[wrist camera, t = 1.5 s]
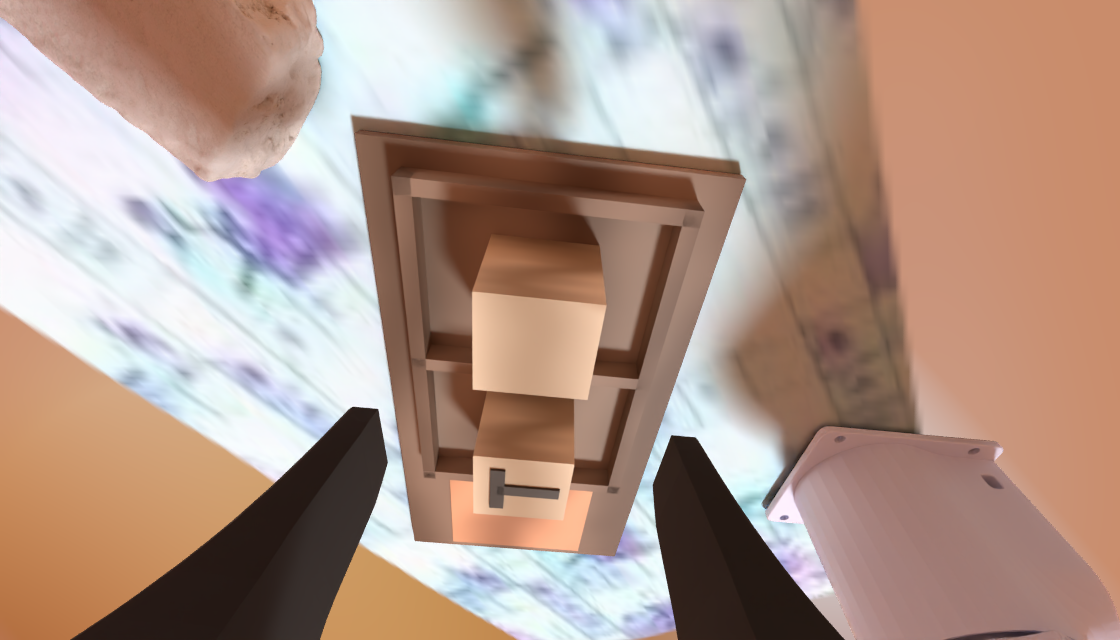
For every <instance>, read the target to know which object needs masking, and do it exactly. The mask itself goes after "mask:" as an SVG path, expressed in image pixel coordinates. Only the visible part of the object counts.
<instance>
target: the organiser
mask: <svg viewBox="0 0 1120 640" xmlns="http://www.w3.org/2000/svg"><path fill="white" fill-rule="evenodd" d="M355 141H356V148H357V155H358V161H359V168H360V175H361V182H362V188H363V195H364V202H365V209H366V215H367V222H368V229H369V236H370V242H371V249H372V256H373V263H374V269H375V276H376V283H377V290H378V296H379V303H380V310H381V317H382V323H383V330H384V337H385V344H386V350H387V357H388V364H389V370H390V377H391V384H392V391H393V397H394V404H395V411H396V418H397V424H398V431H399V438H400V445H401V451H402V458H403V465H404V472H405V478H406V485H407V492H408V499H409V505H410V512H411V519H412V526H413V532H414V539H415V541H422V542H435V543H448V544H461V545H474V546H487V547H500V548H513V549H526V550H539V551H552V552H565V553H578V554H591V555H604V556H615V553H616V551H617V548H618V545H619V542H620V539H621V536H622V533H623V531H624V528H625V525H626V522H627V519H628V516H629V513H630V511H631V508H632V505H633V502H634V499H635V496H636V493H637V491H638V488H639V485H640V482H641V479H642V476H643V473H644V470H645V468H646V465H647V462H648V459H649V456H650V453H651V450H652V448H653V445H654V442H655V439H656V436H657V433H658V430H659V428H660V425H661V422H662V419H663V416H664V413H665V410H666V408H667V405H668V402H669V399H670V396H671V393H672V390H673V387H674V385H675V382H676V379H677V376H678V373H679V370H680V367H681V365H682V362H683V359H684V356H685V353H686V350H687V347H688V345H689V342H690V339H691V336H692V333H693V330H694V327H695V325H696V322H697V319H698V316H699V313H700V310H701V307H702V304H703V302H704V299H705V296H706V293H707V290H708V287H709V284H710V282H711V279H712V276H713V273H714V270H715V267H716V264H717V262H718V259H719V256H720V253H721V250H722V247H723V244H724V242H725V239H726V236H727V233H728V230H729V227H730V224H731V221H732V219H733V216H734V213H735V210H736V207H737V204H738V201H739V199H740V196H741V193H742V190H743V187H744V184H745V181H746V179H745V178H744V177H743V176H742V175H740V174H731V173H723V172H714V171H706V170H697V169H689V168H680V167H672V166H663V165H655V164H646V163H638V162H629V161H620V160H612V159H603V158H595V157H586V156H578V155H569V154H561V153H552V152H544V151H535V150H527V149H518V148H510V147H501V146H492V145H484V144H475V143H467V142H458V141H450V140H441V139H433V138H424V137H416V136H407V135H399V134H390V133H382V132H373V131H364V130H359V131H358V132H356V133H355ZM492 234H496V235H506V236H515V237H524V238H533V239H543V240H552V241H561V242H570V243H580V244H589V245H598V246H600V252H601V261H602V269H603V278H604V287H605V295H606V304H607V306H606V311H605V316H604V321H603V326H602V331H601V336H600V341H599V346H598V351H597V356H596V360H595V365H594V370H593V375H592V380H591V385H590V390H589V395H588V400H581V399H574V469H573V474H572V479H571V484H570V489H569V494H568V499H567V504H566V509H565V514H564V519H563V520H551V519H538V518H526V517H513V516H501V515H488V514H476V513H473V454H474V449H475V444H476V440H477V435H478V431H479V426H480V421H481V417H482V412H483V407H484V403H485V398H486V394H487V391H483V390H473V359H472V290H473V287H474V284H475V282H476V279H477V276H478V273H479V270H480V267H481V264H482V261H483V258H484V255H485V252H486V249H487V246H488V243H489V240H490V238H491V235H492Z"/></svg>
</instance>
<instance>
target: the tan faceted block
mask: <svg viewBox="0 0 1120 640" xmlns="http://www.w3.org/2000/svg"><path fill="white" fill-rule="evenodd" d="M0 17H1V18H3V19H5V20H6V21H7V22H8V23H10V24H11V25H12V26H13V27H15V28H16V29H17V30H18V31H19V32H20V33H21V34H22V35H24V36H25V37H26V38H27V39H28V40H29V41H30V42H31V43H32V44H33V45H34V46H35V47H36V48H37V49H38V50H39V51H40V52H41V53H43V54H44V55H45V56H46V57H47V58H49V59H50V60H51V61H52V62H54V63H55V64H56V65H57V66H58V67H60V68H61V69H62V70H64V71H65V72H66V73H67V74H68V75H70V76H71V77H72V78H73V79H74V80H75V81H76V82H77V83H79V84H80V85H81V86H83V87H84V88H85V89H86V90H88V91H89V92H90V93H91V94H92V95H93V96H94V97H95V98H96V99H98V100H99V101H100V102H102V103H104V104H105V105H107V106H109V107H112V108H113V109H115V110H116V111H118V112H119V114H120V115H121V116H122V117H123V118H124V119H125V120H127V121H128V122H129V123H131V124H132V125H134V126H135V127H138V128H139V129H141V130H143V131H144V132H146V133H147V134H148V135H149V136H150V137H151V138H152V139H153V140H154V141H156V142H157V143H158V144H159V145H161V146H163V147H164V148H165V149H166V150H168V151H169V152H170V153H171V154H172V155H174V156H175V157H176V158H177V159H179V160H180V161H182V162H183V163H184V164H185V165H187V166H188V167H189V168H190V169H191V170H192V171H193V172H194V173H195V174H196V175H197V176H198V177H199V178H201V179H202V180H205V181H207V182H212V181H215V180H219V179H222V178H233V177H243V178H256V177H257V176H259V175H260V172H261V171H262V170H264V169H267V168H269V167H272V166H274V165H275V164H277V163H278V162H279V161H280V160H281V159H282V158H283V157H284V155H285V154H286V153H287V151H288V150H289V148H290V147H291V146H292V144H293V143H294V141H295V139H296V137H297V136H298V133H299V131H300V129H301V128H302V126H303V123H304V122H305V120H306V118H307V116H308V114H309V112H310V110H311V109H312V107H313V105H314V103H315V100H316V97H317V95H318V93H319V90H320V85H321V66H320V64H319V62H318V58H319V57H320V56H322V53H323V50H324V46H323V40H322V38H321V36H320V34H319V32H318V30H317V27H316V23H317V19H316V9H315V7H314V5H313V2H312V0H0Z"/></svg>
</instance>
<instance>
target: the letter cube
mask: <svg viewBox="0 0 1120 640" xmlns="http://www.w3.org/2000/svg"><path fill="white" fill-rule="evenodd" d="M573 469H574V399H570V398H559V397H548V396H538V395H527V394H516V393H505V392H494V391H487V394H486V398H485V403H484V407H483V412H482V417H481V421H480V426H479V431H478V435H477V440H476V444H475V449H474V454H473V513H476V514H488V515H501V516H513V517H526V518H538V519H551V520H563V519H564V514H565V509H566V504H567V499H568V494H569V489H570V484H571V479H572V474H573Z"/></svg>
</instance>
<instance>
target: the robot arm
mask: <svg viewBox="0 0 1120 640" xmlns="http://www.w3.org/2000/svg"><path fill="white" fill-rule="evenodd" d="M1002 452H1003V448H1002V447H1001V446H1000V445H999V444H998V443H997V442H995V441H986V440H974V439H964V438H953V437H943V436H932V435H921V434H910V433H899V432H888V431H877V430H866V429H856V428H845V427H834V426H826V427H823V428H821V429H820V430H819V431H818V432H817V433H816V435H815V436H814V438H813V439H812V441H811V442H810V444H809V446H808V447H807V449H806V450H805V452H804V453H803V455H802V456H801V458H800V459H799V461H798V462H797V464H796V465H795V467H794V468H793V470H792V471H791V473H790V474H789V476H788V478H787V479H786V481H785V482H784V484H783V485H782V487H781V488H780V490H779V491H778V493H777V494H776V496H775V497H774V499H773V500H772V502H771V503H770V505H769V507H768V508H767V510H766V511H765V514H766V516H767V519H768V520H770V521H776V522H788V523H800V524H804V525H805V527H806V529H807V531H808V534H809V536H810V538H811V540H812V543H813V545H814V547H815V549H816V552H817V554H818V556H819V558H820V561H821V563H822V565H823V567H824V570H825V572H826V574H827V576H828V579H829V581H830V583H831V585H832V588H833V590H834V592H835V594H836V596H837V599H838V601H839V603H840V606H841V608H842V610H843V612H844V615H845V617H846V619H847V621H848V624H849V626H850V628H851V630H852V633H853V635H854V637H855V639H856V640H1120V621H1119V618H1118V614H1117V611H1116V609H1115V606H1114V604H1113V601H1112V599H1111V597H1110V595H1109V593H1108V591H1107V589H1106V588H1105V586H1104V585H1103V583H1102V582H1101V580H1100V579H1099V577H1098V576H1097V575H1096V573H1095V572H1094V571H1093V570H1092V568H1091V567H1090V566H1089V565H1088V564H1087V563H1086V562H1085V560H1083V558H1082V557H1081V556H1080V555H1079V554H1078V553H1077V552H1076V551H1075V550H1074V549H1073V547H1072V546H1070V544H1069V543H1068V542H1067V541H1066V540H1065V539H1064V538H1063V537H1062V535H1061V534H1060V533H1059V532H1058V531H1057V530H1056V529H1055V528H1054V527H1053V526H1052V524H1051V523H1050V522H1049V521H1048V520H1047V519H1046V518H1045V517H1044V516H1043V515H1042V514H1041V513H1040V511H1039V510H1038V509H1037V508H1036V507H1035V506H1034V505H1033V504H1032V503H1031V502H1030V500H1029V499H1028V498H1027V497H1026V496H1025V495H1024V494H1023V493H1022V492H1021V491H1020V490H1019V488H1018V487H1017V486H1016V485H1015V484H1014V483H1013V482H1012V481H1011V480H1010V479H1009V478H1008V476H1007V475H1006V474H1005V473H1004V472H1003V471H1002V470H1001V469H1000V468H999V467H998V465H997V464H996V463H994V460H995V459H996V458H997V457H999V456H1000V455H1001V454H1002ZM387 463H388V461H387V456H386V450H385V445H384V439H383V433H382V428H381V422H380V417H379V411H378V409H372V408H361V407H352V408H350V409H349V410H348V411H347V412H346V413H345V414H344V415H343V416H342V417H341V418H340V419H339V420H338V421H337V422H336V423H335V424H334V425H333V426H332V427H331V428H330V429H329V430H328V432H327V433H326V434H325V435H324V436H323V437H322V438H321V439H320V440H319V441H318V442H317V443H316V444H315V445H314V446H313V447H312V448H311V449H310V450H309V451H308V452H307V453H306V454H305V455H304V456H303V457H302V458H301V459H300V460H298V461H297V462H296V463H295V464H294V465H293V466H292V467H291V468H290V469H289V470H288V471H287V472H286V473H285V474H284V475H283V476H282V477H281V478H280V479H279V480H278V481H277V482H275V483H274V484H273V485H272V486H271V487H270V488H269V489H268V490H267V491H266V492H264V493H263V494H262V495H261V496H260V497H259V498H258V499H257V500H255V501H254V502H253V503H252V504H251V505H250V506H249V507H248V508H246V509H245V510H244V511H243V512H242V513H241V514H240V515H239V516H238V517H236V518H235V519H234V520H233V521H232V522H230V523H229V524H228V525H227V526H226V527H224V528H223V529H222V530H221V531H220V532H218V533H217V534H216V535H215V536H214V537H212V538H211V539H210V540H209V541H207V542H206V543H205V544H204V545H203V546H201V547H200V548H198V550H196V551H195V552H193V553H192V554H191V555H190V556H188V557H187V558H186V559H184V560H183V561H182V562H181V563H179V564H178V565H177V566H175V567H174V568H173V569H171V570H170V571H168V572H167V573H166V574H164V575H163V576H162V577H160V578H159V579H158V580H156V581H155V582H154V583H152V584H151V585H149V586H148V587H147V588H145V589H144V590H143V591H141V592H140V593H139V594H137V595H136V596H134V597H133V598H132V599H130V600H129V601H127V602H126V603H124V604H123V605H122V606H120V607H119V608H117V609H116V610H114V611H113V612H112V613H110V614H109V615H107V616H106V617H104V618H103V619H101V620H99V621H98V622H96V623H95V624H93V625H92V626H90V627H89V628H87V629H86V630H85V631H83V632H81V633H80V634H78V635H77V636H75V637H74V638H72V639H71V640H320V638H321V634H322V632H323V629H324V625H325V623H326V619H327V617H328V614H329V612H330V609H331V607H332V604H333V602H334V599H335V597H336V594H337V592H338V590H339V587H340V585H341V583H342V581H343V578H344V576H345V574H346V571H347V569H348V567H349V564H350V562H351V560H352V557H353V555H354V553H355V550H356V548H357V546H358V544H359V541H360V539H361V537H362V534H363V532H364V530H365V527H366V525H367V523H368V520H369V518H370V515H371V513H372V511H373V508H374V506H375V503H376V500H377V497H378V494H379V491H380V487H381V484H382V481H383V477H384V474H385V470H386V467H387ZM653 495H654V509H655V519H656V528H657V533H658V539H659V544H660V549H661V554H662V559H663V564H664V569H665V574H666V579H667V584H668V589H669V594H670V599H671V604H672V609H673V614H674V619H675V625H676V631H677V637H678V640H845V639H844V638H843V637H842V636H841V635H840V634H839V633H838V632H837V630H836V629H835V628H834V627H833V626H832V625H831V624H830V623H829V621H828V620H827V619H826V618H825V617H824V616H823V615H822V614H821V612H820V611H819V610H818V609H817V608H816V607H815V605H814V604H813V603H812V602H811V601H810V599H809V598H808V597H807V596H806V595H805V593H804V592H803V591H802V590H801V589H800V587H799V586H798V585H797V584H796V582H795V581H794V580H793V579H792V577H791V576H790V575H789V574H788V572H787V571H786V570H785V568H784V567H783V566H782V565H781V563H780V562H779V561H778V559H777V558H776V557H775V555H774V554H773V553H772V551H771V550H770V549H769V547H768V546H767V545H766V543H765V542H764V540H763V539H762V538H761V536H760V535H759V533H758V532H757V531H756V529H755V528H754V526H753V525H752V523H751V522H750V521H749V519H748V518H747V516H746V515H745V513H744V512H743V510H742V509H741V507H740V506H739V505H738V503H737V502H736V500H735V499H734V497H733V495H732V494H731V492H730V491H729V489H728V488H727V486H726V485H725V483H724V482H723V480H722V478H721V477H720V475H719V474H718V472H717V470H716V469H715V467H714V466H713V464H712V462H711V461H710V459H709V458H708V456H707V454H706V453H705V451H704V449H703V448H702V446H701V444H700V443H699V441H698V440H697V439H696V437H684V436H673V435H671V438H670V441H669V443H668V446H667V448H666V451H665V454H664V456H663V459H662V462H661V464H660V467H659V470H658V472H657V475H656V478H655V480H654V483H653Z"/></svg>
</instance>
